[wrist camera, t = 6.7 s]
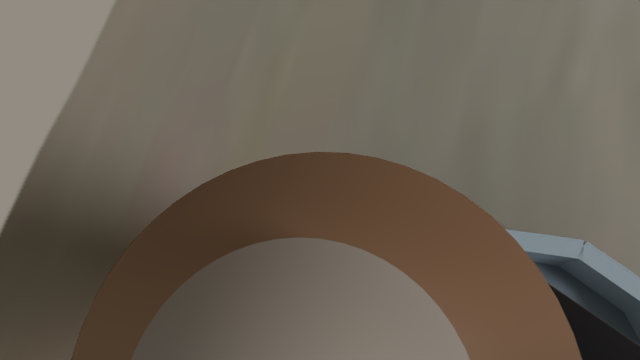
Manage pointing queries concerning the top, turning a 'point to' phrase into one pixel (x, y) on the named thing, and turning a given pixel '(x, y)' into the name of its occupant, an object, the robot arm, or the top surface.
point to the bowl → (587, 278)
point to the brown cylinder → (325, 273)
